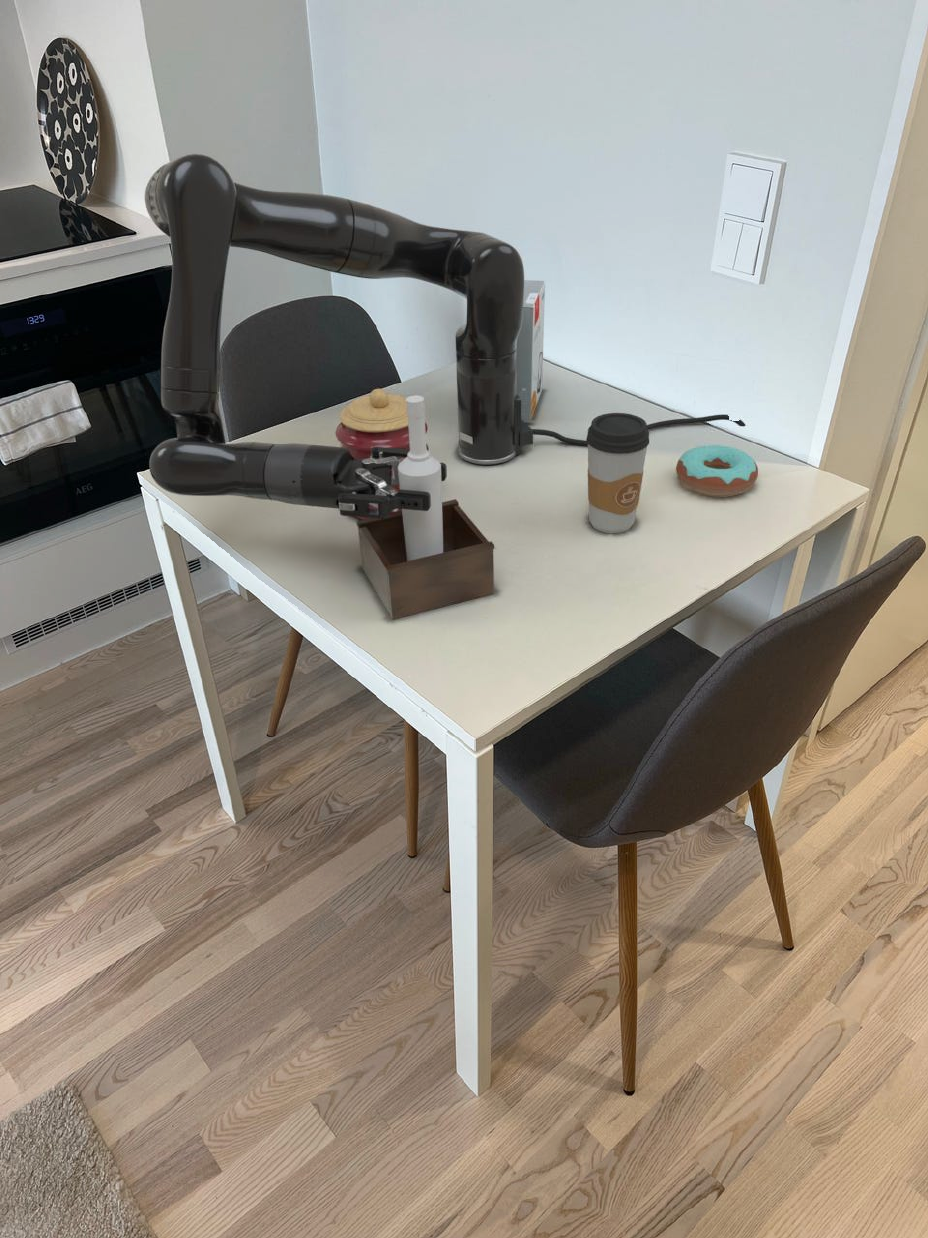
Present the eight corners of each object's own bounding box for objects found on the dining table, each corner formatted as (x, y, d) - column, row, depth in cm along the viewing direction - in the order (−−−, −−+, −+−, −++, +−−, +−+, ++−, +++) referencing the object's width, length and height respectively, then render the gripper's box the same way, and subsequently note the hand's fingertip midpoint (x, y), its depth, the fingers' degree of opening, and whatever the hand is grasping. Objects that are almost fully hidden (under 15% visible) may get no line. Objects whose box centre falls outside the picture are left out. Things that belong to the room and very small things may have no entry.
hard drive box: (531, 425, 159) (532, 307, 147) (487, 422, 160) (485, 306, 148) (543, 389, 171) (545, 278, 159) (502, 387, 172) (501, 277, 161)
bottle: (406, 571, 123) (391, 391, 108) (445, 568, 123) (436, 388, 108) (407, 593, 119) (392, 409, 104) (447, 590, 119) (439, 406, 104)
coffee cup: (603, 543, 127) (610, 442, 118) (570, 517, 133) (574, 419, 124) (653, 528, 130) (664, 428, 121) (618, 503, 136) (626, 406, 127)
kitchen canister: (411, 530, 131) (402, 413, 121) (328, 517, 135) (314, 402, 125) (444, 489, 141) (439, 377, 131) (366, 477, 145) (356, 367, 135)
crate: (457, 545, 128) (455, 498, 123) (495, 594, 118) (494, 544, 114) (361, 568, 124) (356, 520, 119) (392, 620, 114) (387, 570, 110)
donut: (682, 502, 136) (685, 477, 133) (668, 465, 145) (671, 441, 143) (764, 500, 135) (769, 476, 133) (745, 463, 145) (749, 439, 143)
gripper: (283, 474, 108) (420, 486, 104) (326, 423, 119) (451, 432, 116) (292, 530, 112) (424, 543, 109) (332, 475, 123) (453, 486, 120)
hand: (438, 486), depth 112 cm, fingers open, 7 cm apart
